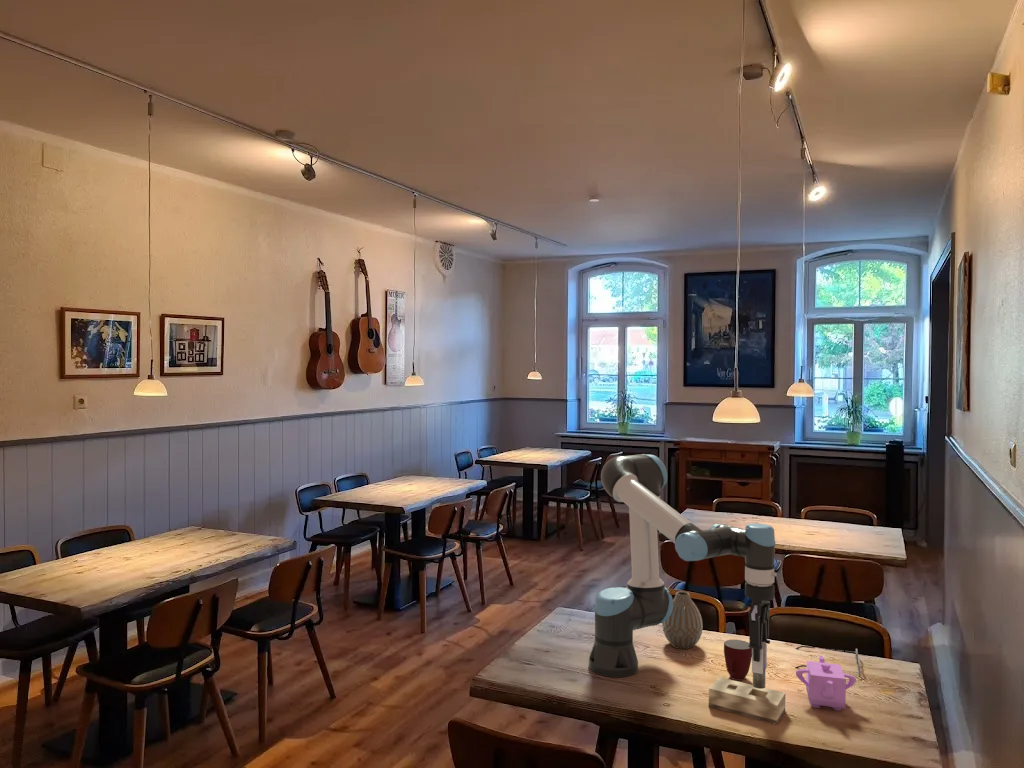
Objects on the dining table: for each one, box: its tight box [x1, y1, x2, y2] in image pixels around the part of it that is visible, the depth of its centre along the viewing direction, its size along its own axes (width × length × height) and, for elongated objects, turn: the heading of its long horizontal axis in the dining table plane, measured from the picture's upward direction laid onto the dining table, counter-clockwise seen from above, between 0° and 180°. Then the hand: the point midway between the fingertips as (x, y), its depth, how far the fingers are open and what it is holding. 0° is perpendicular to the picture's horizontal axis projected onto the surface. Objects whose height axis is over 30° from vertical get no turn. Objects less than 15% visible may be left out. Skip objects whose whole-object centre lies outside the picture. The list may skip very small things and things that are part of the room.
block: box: [708, 676, 786, 725], centre depth 197 cm, size 18×9×5 cm, turn 57°
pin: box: [752, 640, 767, 689], centre depth 195 cm, size 3×3×12 cm
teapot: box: [795, 655, 857, 711], centre depth 201 cm, size 15×13×11 cm
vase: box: [661, 590, 704, 650], centre depth 243 cm, size 13×13×18 cm
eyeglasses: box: [794, 645, 862, 677], centre depth 230 cm, size 18×19×4 cm
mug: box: [723, 639, 752, 681], centre depth 216 cm, size 11×8×10 cm
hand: (759, 669), depth 195 cm, fingers closed on pin, 3 cm apart
